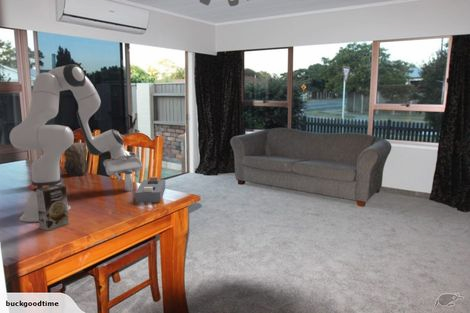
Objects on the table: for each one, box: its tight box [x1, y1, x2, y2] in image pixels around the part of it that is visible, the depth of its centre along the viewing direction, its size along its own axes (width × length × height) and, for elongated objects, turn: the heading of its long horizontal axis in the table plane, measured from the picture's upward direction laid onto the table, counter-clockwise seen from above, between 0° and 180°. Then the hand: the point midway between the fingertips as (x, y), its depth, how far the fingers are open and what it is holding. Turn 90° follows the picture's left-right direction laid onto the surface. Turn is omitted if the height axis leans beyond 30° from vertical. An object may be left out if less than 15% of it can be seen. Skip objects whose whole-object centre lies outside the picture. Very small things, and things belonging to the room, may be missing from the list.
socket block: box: [134, 176, 166, 204], centre depth 186 cm, size 25×12×7 cm, turn 5°
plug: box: [123, 170, 134, 192], centre depth 194 cm, size 4×4×11 cm
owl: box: [63, 141, 89, 177], centre depth 230 cm, size 13×13×20 cm
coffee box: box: [36, 184, 70, 231], centre depth 143 cm, size 9×6×16 cm
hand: (128, 178), depth 193 cm, fingers open, 8 cm apart
